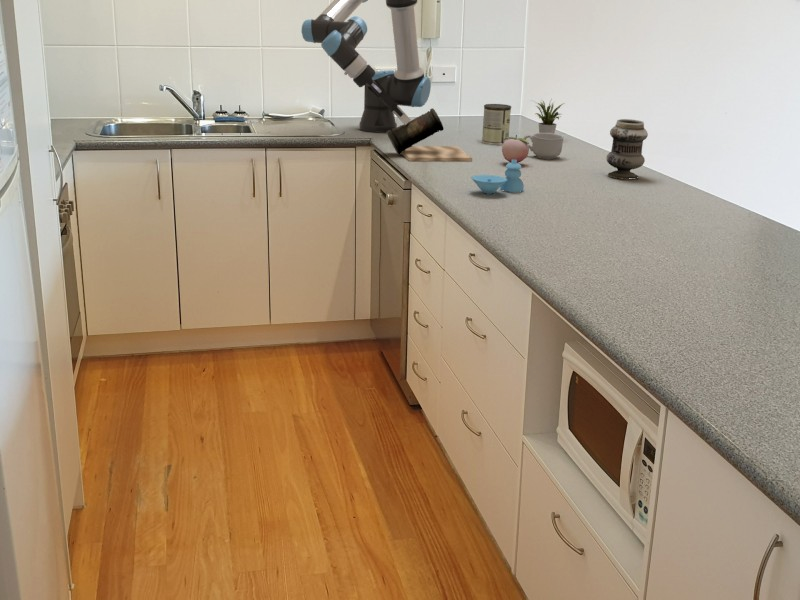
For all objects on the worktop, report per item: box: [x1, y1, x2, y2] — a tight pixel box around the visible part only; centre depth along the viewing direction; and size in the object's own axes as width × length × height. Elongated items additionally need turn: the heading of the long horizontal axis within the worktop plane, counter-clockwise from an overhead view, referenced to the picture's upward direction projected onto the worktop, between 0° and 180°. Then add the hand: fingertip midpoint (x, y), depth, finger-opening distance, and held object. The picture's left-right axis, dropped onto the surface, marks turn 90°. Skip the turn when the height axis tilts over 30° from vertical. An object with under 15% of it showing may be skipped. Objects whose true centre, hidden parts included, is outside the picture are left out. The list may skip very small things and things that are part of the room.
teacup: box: [523, 132, 565, 160], centre depth 322 cm, size 14×11×8 cm
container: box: [386, 108, 445, 155], centre depth 314 cm, size 9×9×18 cm
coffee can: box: [481, 103, 512, 146], centre depth 346 cm, size 10×10×14 cm
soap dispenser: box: [470, 160, 525, 195], centre depth 265 cm, size 18×10×9 cm, turn 127°
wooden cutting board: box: [400, 145, 473, 162], centre depth 318 cm, size 22×22×1 cm
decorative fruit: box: [501, 134, 530, 164], centre depth 306 cm, size 9×8×10 cm
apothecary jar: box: [605, 118, 649, 180], centre depth 292 cm, size 12×12×18 cm
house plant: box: [530, 98, 566, 134], centre depth 357 cm, size 14×14×16 cm
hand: (407, 122), depth 311 cm, fingers closed
